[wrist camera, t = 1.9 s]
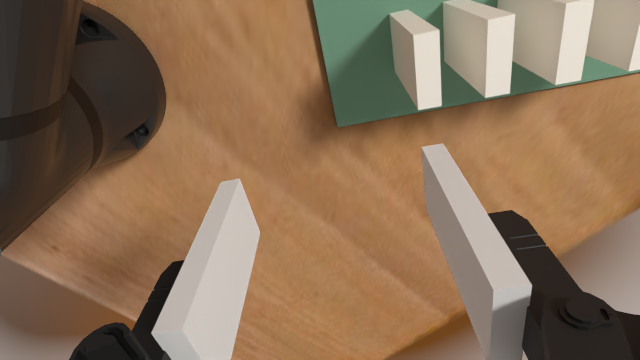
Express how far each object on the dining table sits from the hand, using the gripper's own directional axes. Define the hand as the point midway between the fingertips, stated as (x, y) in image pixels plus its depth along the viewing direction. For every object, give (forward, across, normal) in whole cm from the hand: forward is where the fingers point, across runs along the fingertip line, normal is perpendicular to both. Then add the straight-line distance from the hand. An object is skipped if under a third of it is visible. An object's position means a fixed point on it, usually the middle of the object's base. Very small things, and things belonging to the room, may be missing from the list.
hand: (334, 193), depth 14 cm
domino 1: (+22, +6, 0) cm, 23 cm away
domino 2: (+22, +11, 0) cm, 25 cm away
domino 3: (+22, +16, 0) cm, 27 cm away
